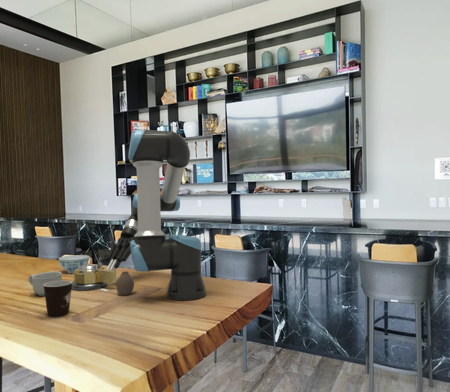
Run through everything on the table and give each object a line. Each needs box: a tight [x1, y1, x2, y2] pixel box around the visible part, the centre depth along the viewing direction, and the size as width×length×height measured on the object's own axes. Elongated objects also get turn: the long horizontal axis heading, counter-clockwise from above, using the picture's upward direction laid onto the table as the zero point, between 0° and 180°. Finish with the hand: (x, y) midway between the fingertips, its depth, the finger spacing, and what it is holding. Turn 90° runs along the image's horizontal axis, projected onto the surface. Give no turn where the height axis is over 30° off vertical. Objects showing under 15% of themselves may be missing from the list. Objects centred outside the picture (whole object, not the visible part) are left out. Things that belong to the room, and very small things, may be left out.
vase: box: [115, 270, 135, 296], centre depth 141 cm, size 7×7×9 cm
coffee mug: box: [44, 280, 73, 318], centre depth 119 cm, size 12×9×10 cm
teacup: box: [28, 271, 63, 297], centre depth 144 cm, size 14×11×8 cm
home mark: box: [98, 288, 110, 292], centre depth 147 cm, size 5×1×1 cm, turn 51°
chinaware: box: [58, 254, 90, 274], centre depth 187 cm, size 15×15×8 cm
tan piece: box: [73, 266, 117, 285], centre depth 153 cm, size 20×12×5 cm, turn 68°
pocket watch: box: [96, 256, 103, 269], centre depth 171 cm, size 8×8×10 cm
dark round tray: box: [71, 264, 109, 292], centre depth 155 cm, size 15×15×9 cm
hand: (109, 273), depth 154 cm, fingers closed
